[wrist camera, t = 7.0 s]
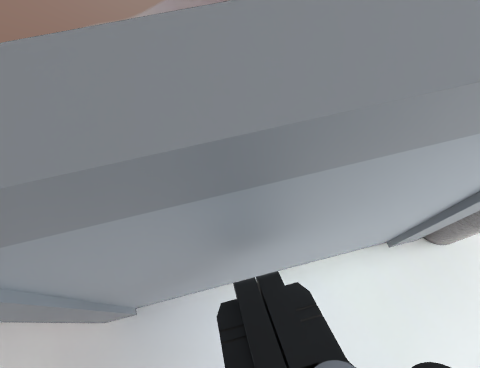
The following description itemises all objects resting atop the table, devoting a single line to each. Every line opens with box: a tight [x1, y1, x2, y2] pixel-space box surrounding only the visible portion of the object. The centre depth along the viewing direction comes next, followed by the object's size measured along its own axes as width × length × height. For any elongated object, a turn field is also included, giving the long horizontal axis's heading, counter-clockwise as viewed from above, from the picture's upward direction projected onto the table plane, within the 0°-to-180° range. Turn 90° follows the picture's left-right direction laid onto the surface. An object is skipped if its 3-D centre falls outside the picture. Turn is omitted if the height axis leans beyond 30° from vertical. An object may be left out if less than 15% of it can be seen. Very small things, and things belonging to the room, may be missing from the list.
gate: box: [0, 0, 480, 323], centre depth 11 cm, size 17×2×16 cm, turn 104°
